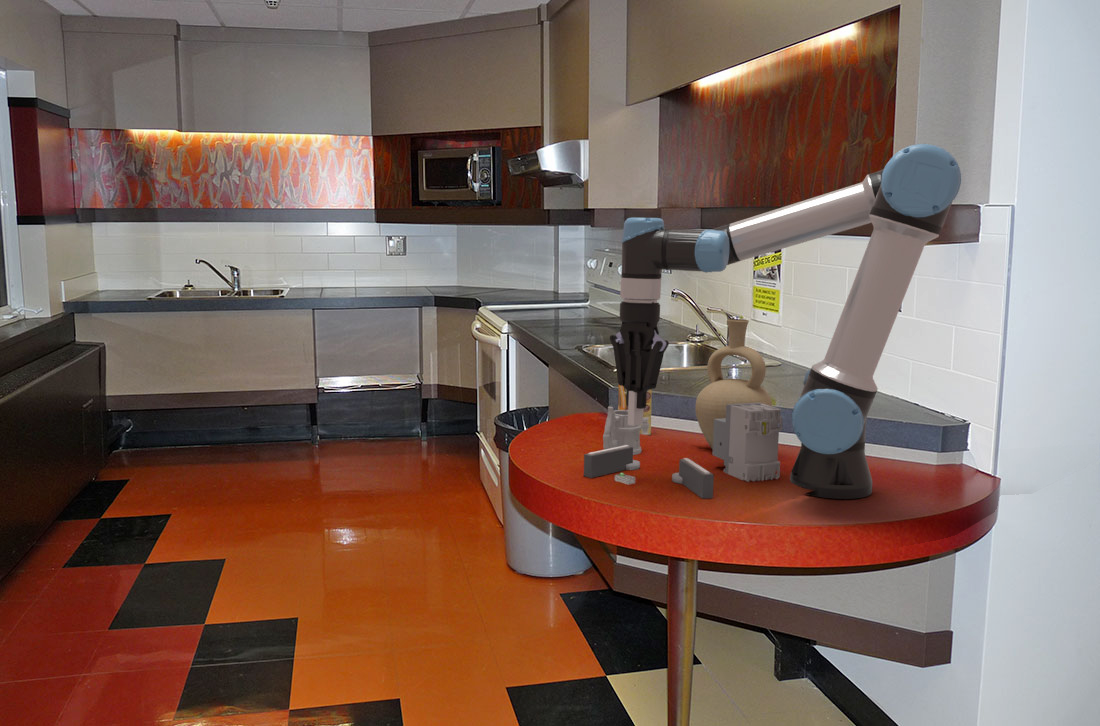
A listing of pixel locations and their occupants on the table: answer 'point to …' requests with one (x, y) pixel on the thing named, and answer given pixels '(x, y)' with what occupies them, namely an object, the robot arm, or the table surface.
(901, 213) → the robot arm
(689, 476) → the grey bar piece
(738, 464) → the circuit breaker
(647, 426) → the candy box
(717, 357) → the vase
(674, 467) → the table surface
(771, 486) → the table surface
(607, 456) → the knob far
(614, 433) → the mug
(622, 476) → the base plate
